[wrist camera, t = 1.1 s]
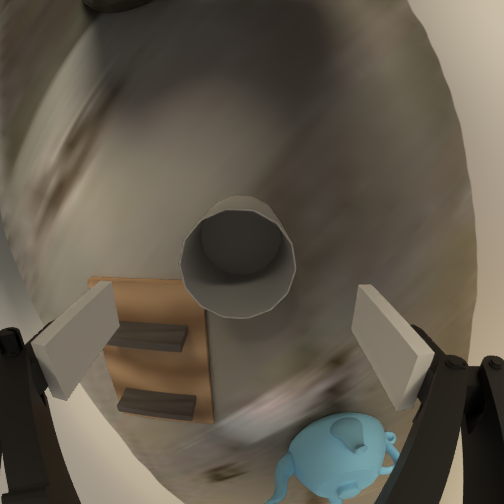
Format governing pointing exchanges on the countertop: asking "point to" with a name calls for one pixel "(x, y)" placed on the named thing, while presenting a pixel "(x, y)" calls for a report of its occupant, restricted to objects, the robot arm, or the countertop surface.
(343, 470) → the teapot
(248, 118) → the countertop surface
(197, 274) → the cup
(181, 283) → the end holder
